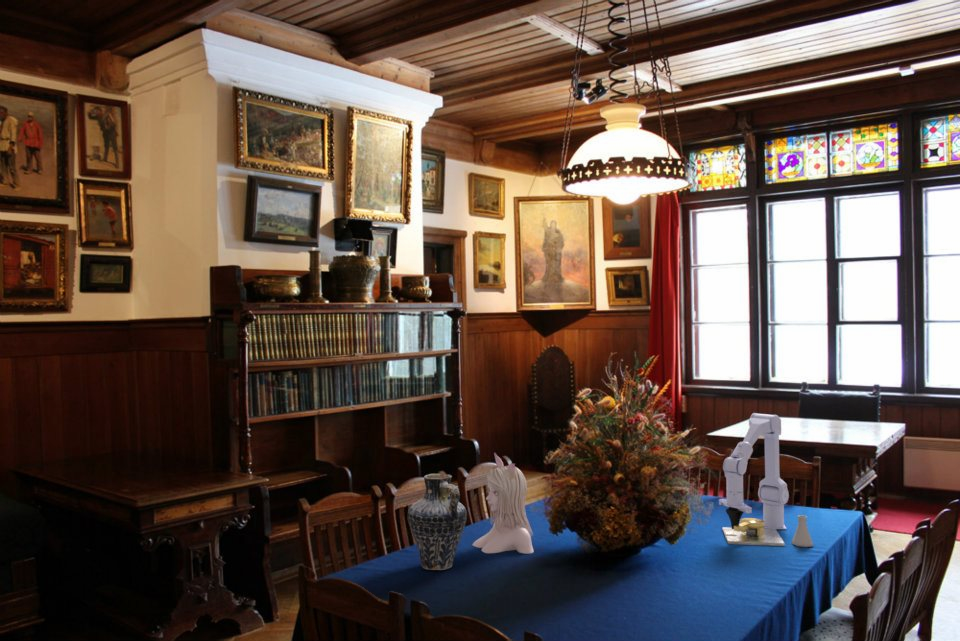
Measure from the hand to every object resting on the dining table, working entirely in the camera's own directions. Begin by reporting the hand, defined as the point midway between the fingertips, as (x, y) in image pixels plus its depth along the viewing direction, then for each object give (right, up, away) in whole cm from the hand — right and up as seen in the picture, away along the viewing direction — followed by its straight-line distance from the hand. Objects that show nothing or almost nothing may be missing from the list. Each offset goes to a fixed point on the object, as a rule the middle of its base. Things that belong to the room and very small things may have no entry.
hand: (735, 528), depth 280 cm
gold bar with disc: (+5, -3, +2) cm, 6 cm away
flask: (+22, -4, -5) cm, 23 cm away
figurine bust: (-83, -6, +1) cm, 83 cm away
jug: (-105, -7, -23) cm, 107 cm away
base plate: (+8, -4, +4) cm, 10 cm away
